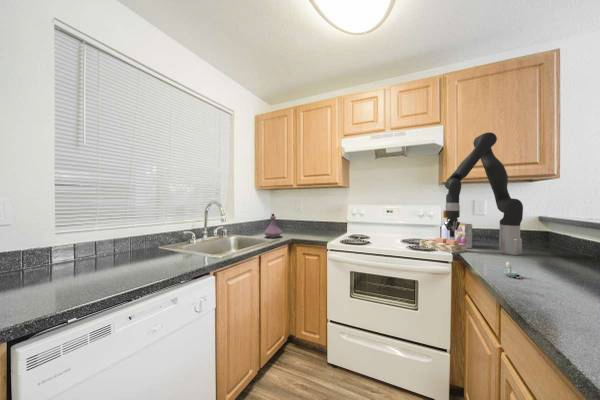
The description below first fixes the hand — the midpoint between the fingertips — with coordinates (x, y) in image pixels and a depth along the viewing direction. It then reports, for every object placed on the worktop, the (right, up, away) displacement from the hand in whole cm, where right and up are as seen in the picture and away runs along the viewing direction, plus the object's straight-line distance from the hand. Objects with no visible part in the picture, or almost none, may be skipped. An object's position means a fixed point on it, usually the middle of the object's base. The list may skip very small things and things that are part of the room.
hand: (452, 236), depth 144 cm
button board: (-3, -9, +6) cm, 11 cm away
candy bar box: (+15, -9, +11) cm, 21 cm away
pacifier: (-6, -10, -47) cm, 48 cm away
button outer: (-6, -7, +13) cm, 16 cm away
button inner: (0, -5, 0) cm, 5 cm away
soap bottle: (+20, -9, +34) cm, 40 cm away
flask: (-121, -9, +50) cm, 131 cm away
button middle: (-3, -5, +6) cm, 9 cm away
